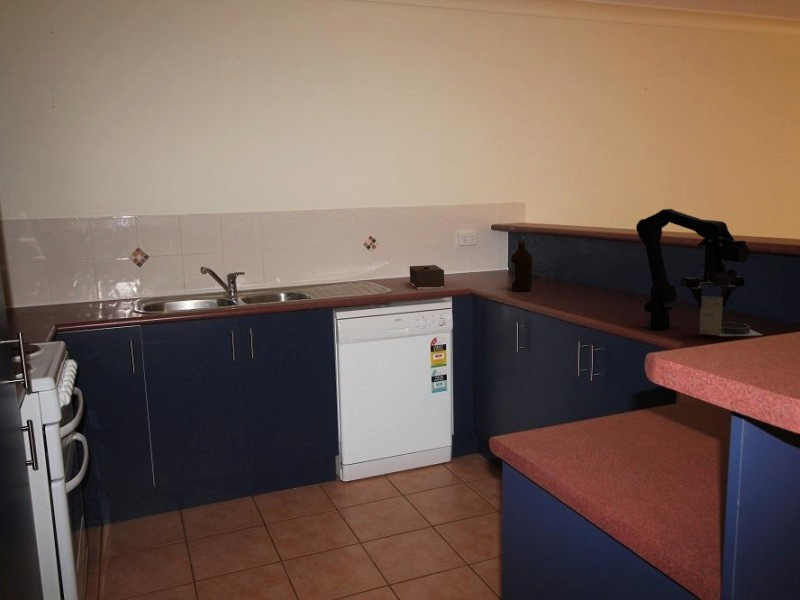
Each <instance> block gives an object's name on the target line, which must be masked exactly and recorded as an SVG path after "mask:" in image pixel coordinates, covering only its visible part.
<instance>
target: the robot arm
mask: <svg viewBox="0 0 800 600" xmlns="http://www.w3.org/2000/svg"><path fill="white" fill-rule="evenodd" d="M670 223H671V224H673V225H676V226H680V227H681V228H684V229H688V230H691V231H693V232H695V233H696V234H697V235H698V236H699V237H701V238H703V239H702V240H701V241H700V242H699V243H698V244H697V246H698V247H703V249H704V250H703V262H701V266H702V267H703V271H702V272H703V274H701V278H699V277H695V276H684V277H682V278H681V279H680V286H681V287H684V288H687V289H689V290H690V292H691V293H692V295H693V297H694V299H695V302H696V304H697V307H698V308H699V309H701V305H702V297H703V296H702V292H703V289H704V288H703V287H701V286H703V285H708V286H709V285H713V286H716V287H721V288H720V289H721V292H720V297H723V306H722V308H725V306H726V304H727V302H728V300H729V298H730V296H731V294H732V292H733V291H734V290H737V289H738V288H739V287H745V286H746V279H745V278H744V277H743V276H740V275H738V271H737V270H736V269H729V270H726V264H725V263H724V262H730V263H746V262H747V261H748V259H749V257H750V250H749V247H748V245H747V243H746V240H735V239H734V237H733V235H732V234H731V232H730V231H729V229H728V226H727V223H726V222H724V221H722V220H721V221H720V220H714V219H713V220H711V219H710V220H709V219H702V218H698V217H695V216H692V215H690V214H687V213H683V212H680V211H677V210H675V209H673V208H664V209H663V208H662V209H661V210H660V211H658V212H656V213H654V214H652V215H650V216H648V217H645V218H641V219H640V220H639V221H638V222H637V223H636V226H635V227H636V232H637V235H638V238H639V239H640V240H641V242H642V243H643V244H644V247H645V251H646V256H647V257H646V258H647V261H648V266H649V271H650V276H651V277H650V278H651V280H652V286H651V289H650V292H649V293H650V296H649V297H650V300H648V301H647V302H646V303H645V304H644V305H643V308H644V311H645V312H646V313H647V324H646V325H645V327H647V328H648V329H650V330H653V331H655V330H656V331H657V330H670V329H671V327H670V326H671V325H670V324H671V322H670V321H671V315H670V314H669V311H672V310H673V306H674V305H675V304H676V303H677V297H678V294H677V290H676V285H675V284H674V285H671V284H670V282H669V281H668V277H667V272H666V267H665V263H664V258H663V257H664V256H663V251H662V247H661V238H662V234H663V228H664V227H666V226H668V225H669V224H670Z"/></svg>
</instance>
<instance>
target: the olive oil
mask: <svg viewBox="0 0 800 600" xmlns="http://www.w3.org/2000/svg"><path fill="white" fill-rule="evenodd" d="M525 242H526V241H525V240H518V245H517V247H518V248H517V249H516V250H515V252H514V253H513V254H512V255H511V259H510V269H511V284H512V285H511V290H512V291H513V292H516V293H527V292H528V293H529V292H531V291H532V283H533V281H532V279H533V278H532V277H533V276H532V275H533V261H534V260H533V256H532V255H531V253H530V252H529V251H528V250H527V249H526V243H525Z"/></svg>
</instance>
